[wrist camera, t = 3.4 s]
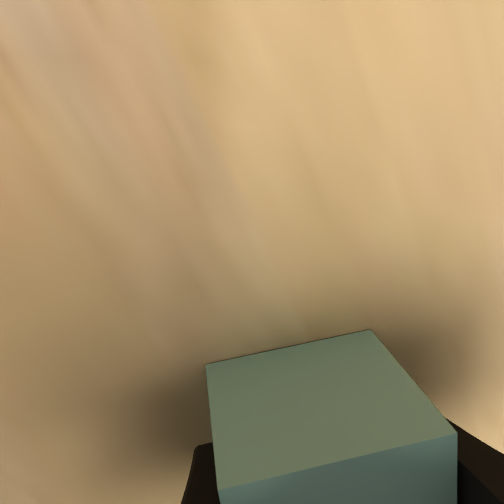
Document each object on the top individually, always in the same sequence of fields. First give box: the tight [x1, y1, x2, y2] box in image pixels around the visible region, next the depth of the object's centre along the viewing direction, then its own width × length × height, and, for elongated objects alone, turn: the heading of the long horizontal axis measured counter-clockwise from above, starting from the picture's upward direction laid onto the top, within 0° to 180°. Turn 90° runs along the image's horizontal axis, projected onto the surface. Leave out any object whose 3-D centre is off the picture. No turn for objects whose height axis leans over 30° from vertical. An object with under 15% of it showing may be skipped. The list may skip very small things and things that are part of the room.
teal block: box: [205, 329, 457, 504], centre depth 12 cm, size 5×5×4 cm
